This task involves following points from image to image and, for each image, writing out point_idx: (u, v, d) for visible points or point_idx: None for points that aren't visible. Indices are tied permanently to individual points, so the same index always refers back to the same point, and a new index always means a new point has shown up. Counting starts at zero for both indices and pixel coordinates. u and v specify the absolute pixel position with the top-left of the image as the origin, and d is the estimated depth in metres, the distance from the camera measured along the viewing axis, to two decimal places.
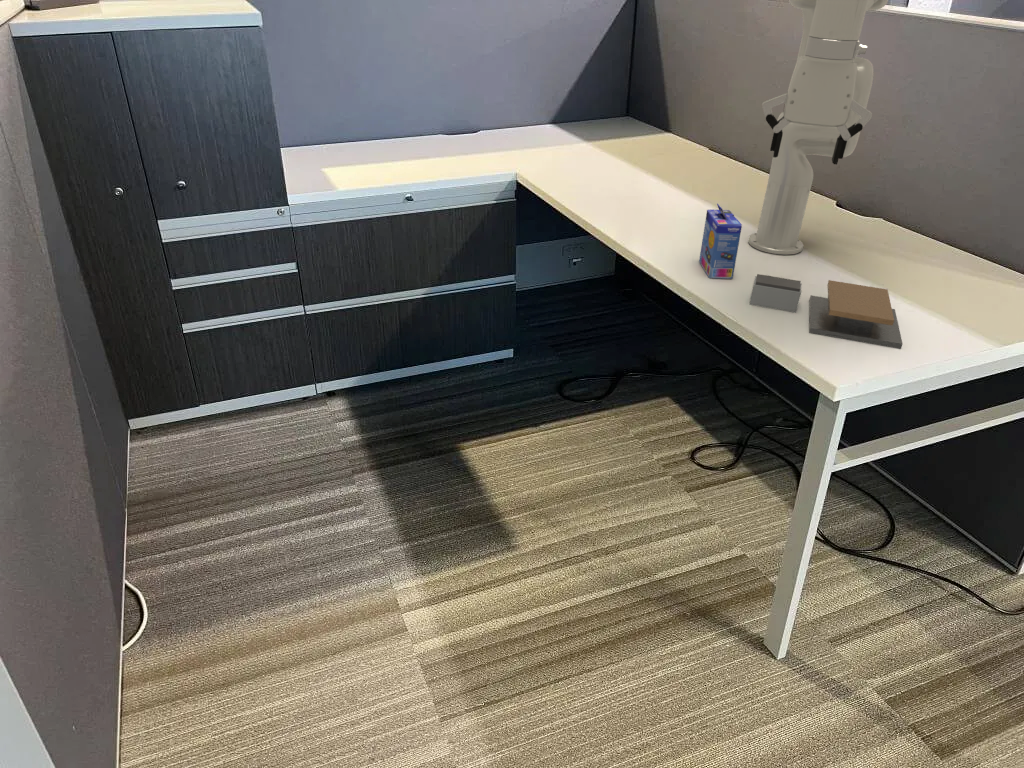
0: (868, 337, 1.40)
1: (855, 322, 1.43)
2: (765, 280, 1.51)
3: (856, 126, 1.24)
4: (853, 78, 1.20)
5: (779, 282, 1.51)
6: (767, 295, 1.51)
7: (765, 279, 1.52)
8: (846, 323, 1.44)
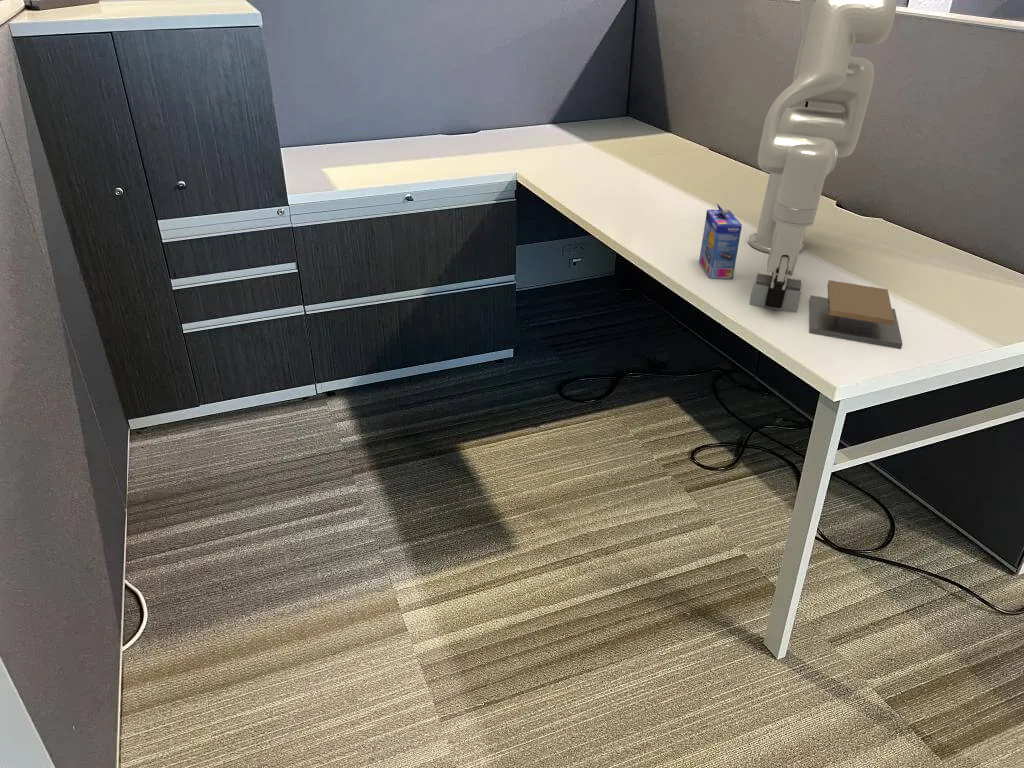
0: (868, 337, 1.40)
1: (855, 322, 1.43)
2: (765, 279, 1.51)
3: None
4: None
5: None
6: None
7: (766, 278, 1.52)
8: (846, 323, 1.44)
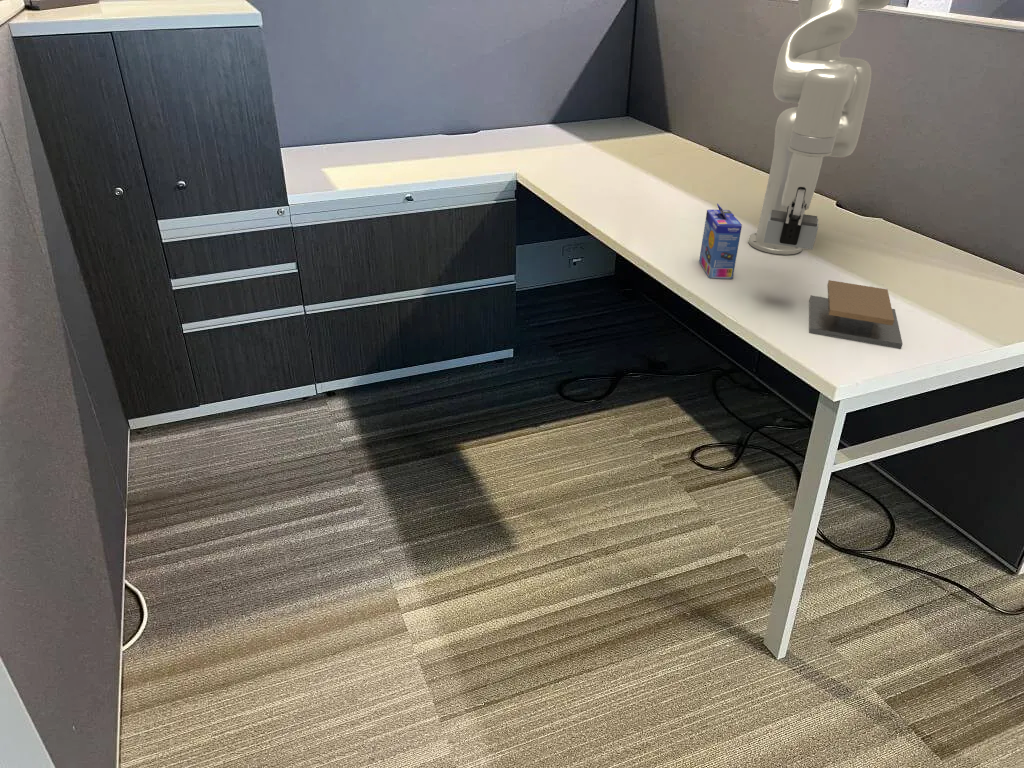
0: (868, 337, 1.40)
1: (855, 322, 1.43)
2: (780, 215, 1.45)
3: None
4: None
5: None
6: None
7: (780, 214, 1.46)
8: (846, 323, 1.44)
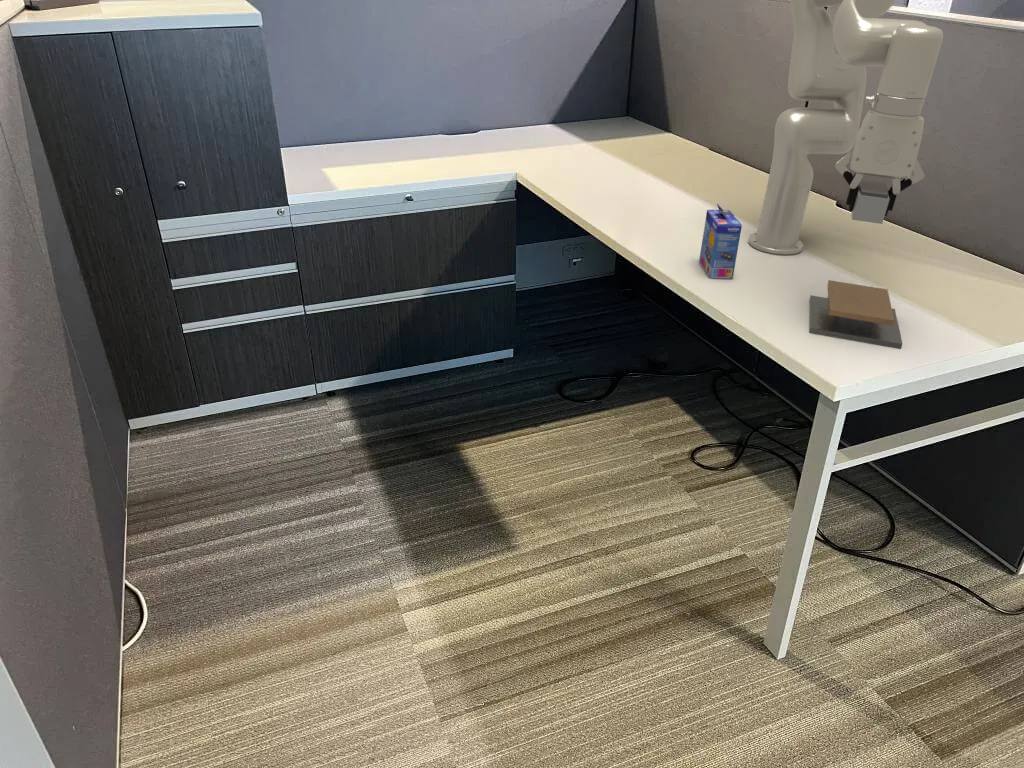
0: (868, 337, 1.40)
1: (855, 322, 1.43)
2: (878, 191, 1.33)
3: None
4: None
5: (877, 187, 1.35)
6: None
7: (874, 190, 1.33)
8: (846, 323, 1.44)
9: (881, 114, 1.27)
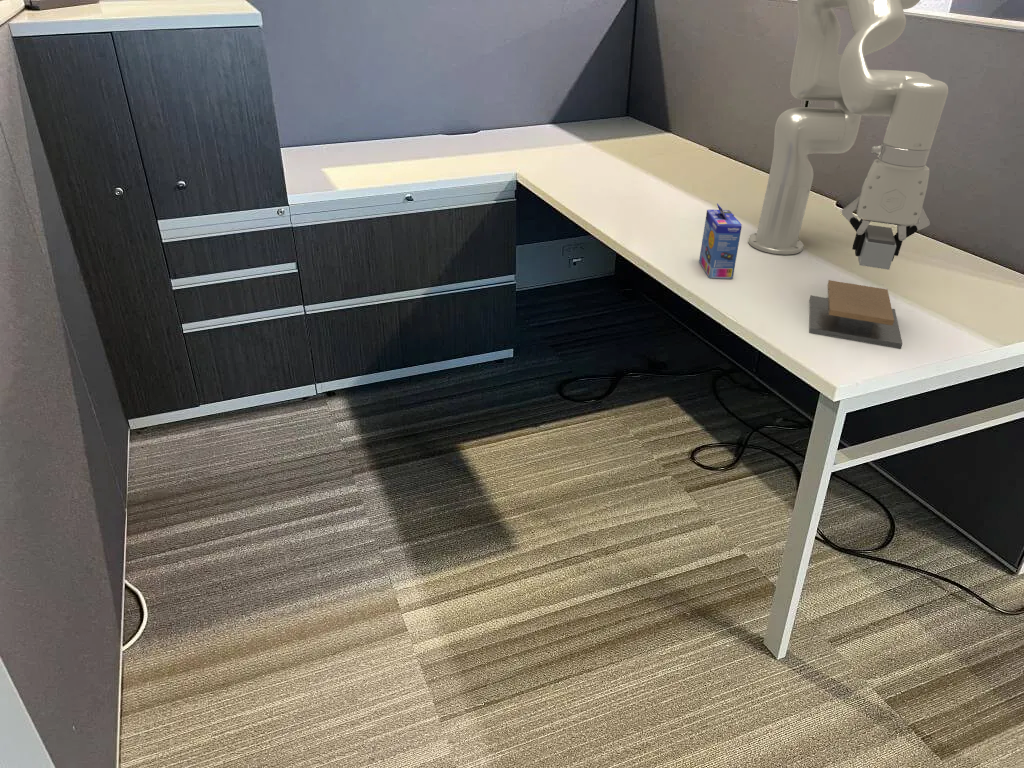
0: (868, 337, 1.40)
1: (855, 322, 1.43)
2: (885, 237, 1.36)
3: (855, 218, 1.39)
4: None
5: (883, 233, 1.38)
6: None
7: (881, 237, 1.36)
8: (846, 323, 1.44)
9: (888, 164, 1.30)
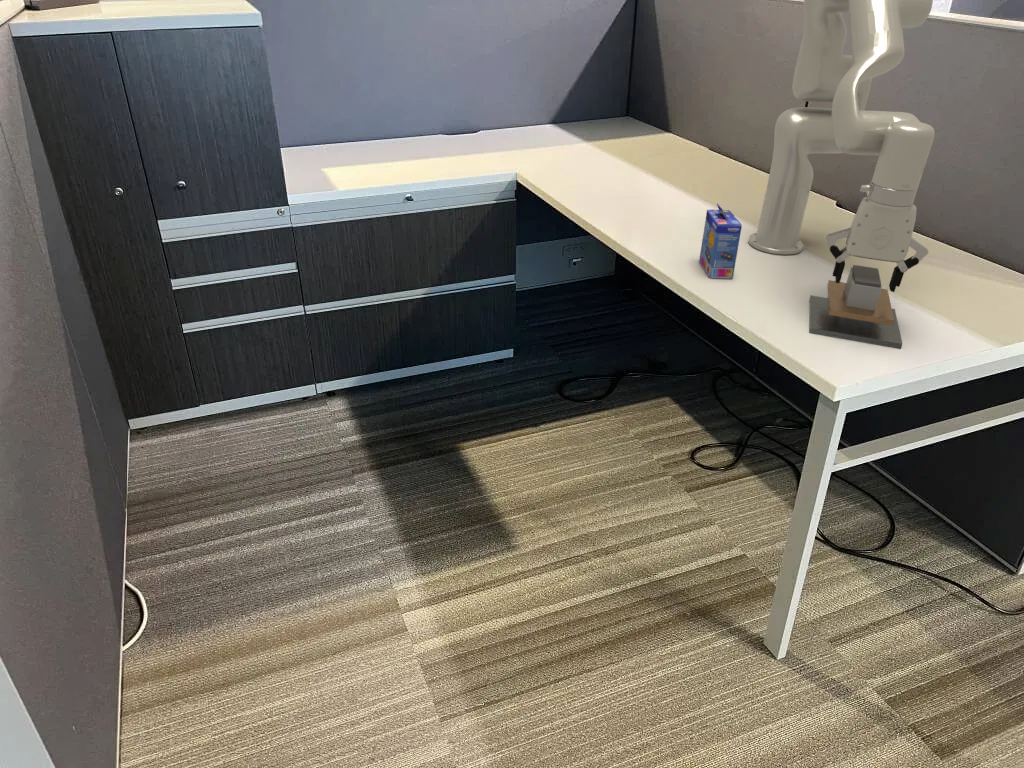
0: (868, 337, 1.40)
1: (855, 322, 1.43)
2: (871, 279, 1.40)
3: (835, 246, 1.42)
4: None
5: (869, 274, 1.42)
6: None
7: (867, 279, 1.40)
8: (846, 323, 1.44)
9: (876, 203, 1.33)
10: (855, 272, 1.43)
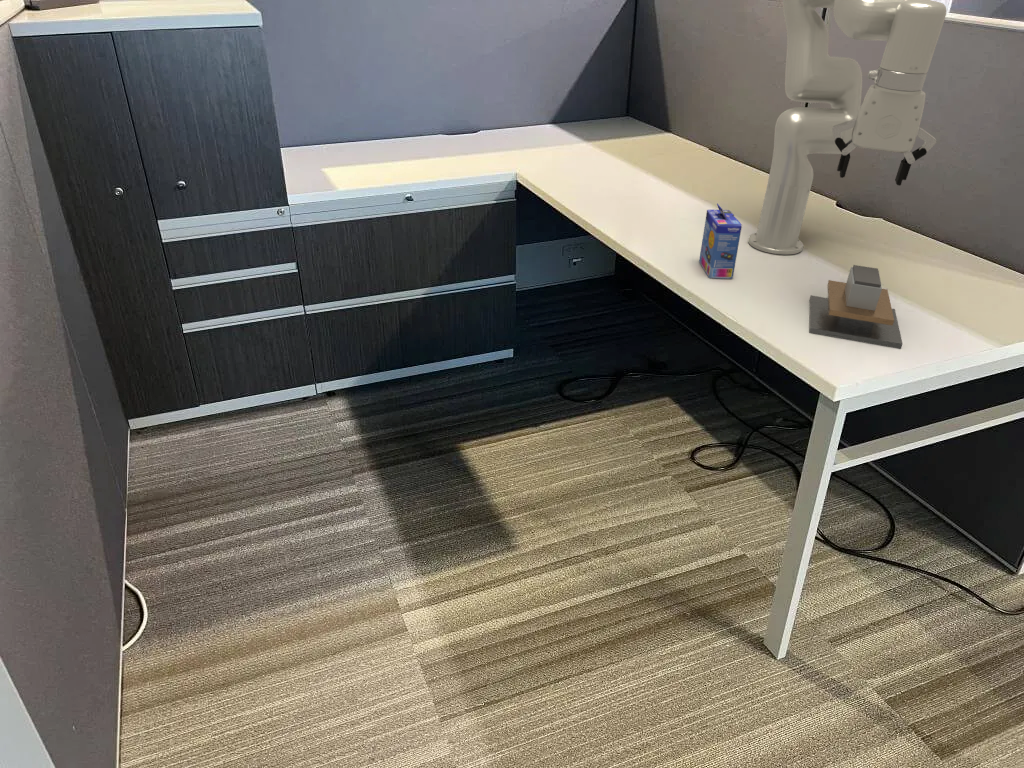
0: (868, 337, 1.40)
1: (855, 322, 1.43)
2: (871, 279, 1.40)
3: None
4: None
5: (869, 274, 1.42)
6: None
7: (867, 279, 1.40)
8: (846, 323, 1.44)
9: (884, 89, 1.29)
10: (855, 272, 1.43)
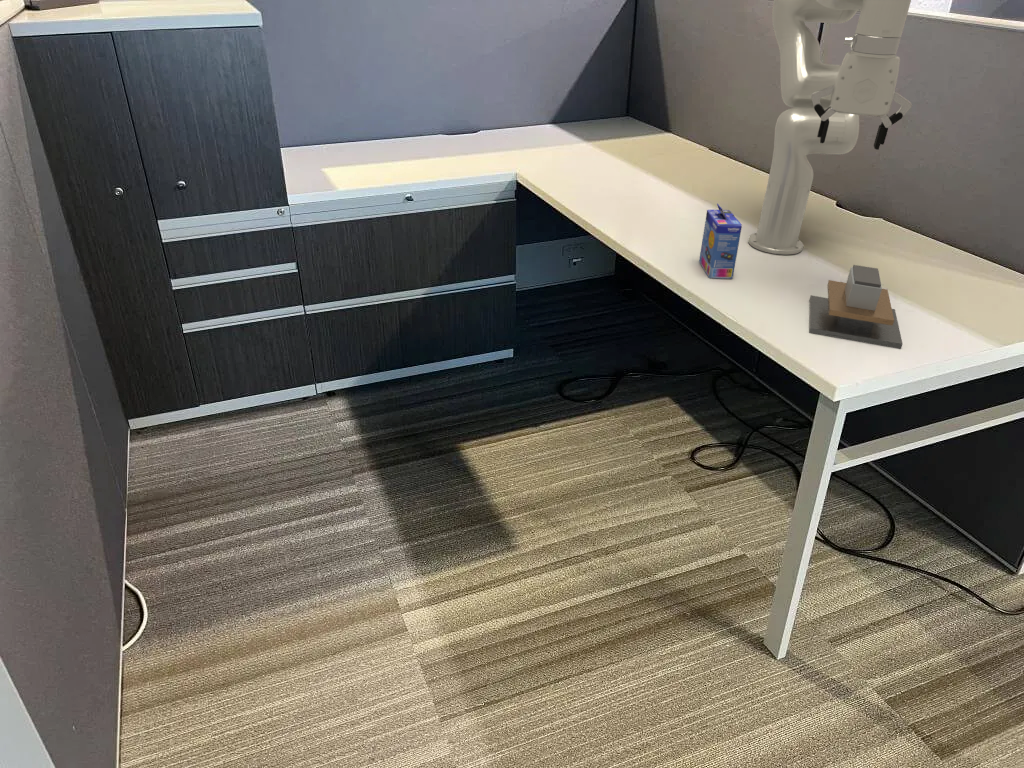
0: (868, 337, 1.40)
1: (855, 322, 1.43)
2: (871, 279, 1.40)
3: None
4: None
5: (869, 274, 1.42)
6: None
7: (867, 279, 1.40)
8: (846, 323, 1.44)
9: (859, 53, 1.34)
10: (855, 272, 1.43)
